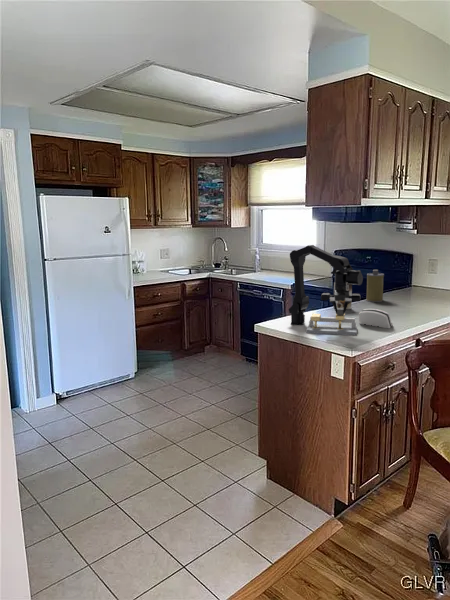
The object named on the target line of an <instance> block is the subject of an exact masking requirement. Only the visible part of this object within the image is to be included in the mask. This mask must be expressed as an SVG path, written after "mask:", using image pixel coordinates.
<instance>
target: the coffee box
mask: <svg viewBox="0 0 450 600" xmlns="http://www.w3.org/2000/svg"><path fill="white" fill-rule="evenodd" d="M334 291H335V281H334V282H333V292H334ZM347 291H349V295H352V294H353V284H348V283H347ZM352 303H353V300H351V303H349V304H348V305H347V308H346V310H351V309H352ZM344 305H345V300H344V301H340V300H338V301H337V308H344Z"/></svg>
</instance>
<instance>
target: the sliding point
mask: <svg viewBox="0 0 450 600" xmlns="http://www.w3.org/2000/svg"><path fill="white" fill-rule="evenodd" d="M343 311H344V308H337V314H336V313H335V317H336V320H339V322H338V325H339V328H341V325H342V323H341V320H344V318H346V317H345V315H346V312H345V313H344V314H343Z"/></svg>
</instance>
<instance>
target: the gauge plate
mask: <svg viewBox="0 0 450 600" xmlns="http://www.w3.org/2000/svg"><path fill="white" fill-rule="evenodd" d="M321 314H322V313H312V314H311V316H310V319H309V322H308V326H307V328H306V330H305V332H306V334H320V335H321V334H322V335H323V334H325V335H341V336H345V335H346V336H357V334H358V326H357V321H356V318H355V317H345V318H344V320H341V328H339V324H321V323H322V322H323V323H339V320H336V316H335V317H334V316H331V317H329V316H322V315H321ZM318 322H319V323H320V322H321V323H320V324H319V323H318ZM343 323H345V324H351V325H345V324H344V325H343Z"/></svg>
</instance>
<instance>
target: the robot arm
mask: <svg viewBox="0 0 450 600" xmlns="http://www.w3.org/2000/svg"><path fill="white" fill-rule="evenodd" d="M309 255H312V256H313V257H315V258H318V259H321V260H322V261H325V262H327V263H328V264H329V265H330V267H332V268H333V270H332V271H331V272H330V274H331V275H334V282H335V291H334V290H333V294H331V293H330V292H323V293H321V295H320V301H325V302H326V301H328V300H329V303H331V304H332V305H333V309H334V311H335V315H336V314H337V301H338V300H340V301H344V300H345V305H344V311H343V314H344V313H345V314H346V310H347V309H346V308H347V305H348V304H349V303H351V300H352V302H361V294H360V293H352V295H349V291H347V283H348V284H352V285H356V286H361V285H362V284H363V280H364V276H363V274H362V271H361V270H354V268H353V267H352V266H351V264H350V261H349V259H348V258H347V257H344V256H341V255H336V254H335V255H334V254H332V253H330V252H328V251H326V250H324V249H321V248H320V247H317V246H315V245H314V244H309V245H307V246H305V247H302V248H299V249H293V250H292V251H291V252H290V253H289V258H290V259H289V260H290V263H291V265H292V266H293V275H294V276H293V277H294V278H293V279H294V293H295V294H294V296H293V299H292V305H291V306H290V307H289V309H288V313H289V314H290V315H291V316H290V318H291V319H290V320H291V321H290V325H295V326H296V325H299V326H301V325H302V326H303V325H304V323H305V322H306V315H305V312H306V310H307V309H308V307H309V304H310V296H309V295H306V293H305V280H304V279H305V278H304V276H305V275H304V266H305V262H306V257H307V256H309ZM351 304H352V303H351Z"/></svg>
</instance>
